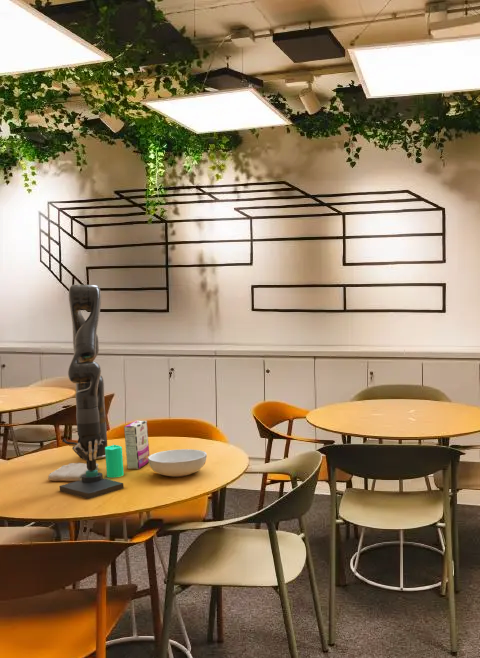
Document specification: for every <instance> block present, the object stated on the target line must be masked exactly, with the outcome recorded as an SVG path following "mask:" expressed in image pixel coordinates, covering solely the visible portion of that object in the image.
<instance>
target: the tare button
mask: <svg viewBox="0 0 480 658" xmlns="http://www.w3.org/2000/svg"><path fill="white" fill-rule="evenodd" d="M98 470H99V469H98ZM98 470H94V471H89V470H88V471H86V477H94V476H98Z"/></svg>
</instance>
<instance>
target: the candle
mask: <svg viewBox="0 0 480 658" xmlns="http://www.w3.org/2000/svg"><path fill="white" fill-rule="evenodd" d="M105 456H106V457H105V467H106V468H105V469H106V470H105V471H106V477H107V478H109V479H111V478H112V479H113V478H120V477H123V476H124V475H125V473H124V471H125V470H124V458H123V457H124V456H123V447H122V446H121V445H117V444H111V445H108V446H107V447H105Z"/></svg>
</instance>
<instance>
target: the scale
mask: <svg viewBox="0 0 480 658" xmlns="http://www.w3.org/2000/svg"><path fill="white" fill-rule="evenodd" d="M81 478H82V480H79V481H71V482H69V483H65V484H62V485H59V488H58V489H59V492H61V493H64V494H69V495H72V496H76V497H79V498H83V499H87V500H91V499H94V498H97V497H100V496H102V495H103V496H104V495H107V494H110V493H113V492H116V491H120V490H123V489H124V488H125V487H124V482H120V481H115V480H111V479H107V478H104V477H103V472H98V476H94V477H86V474H83V475H82V476H81Z"/></svg>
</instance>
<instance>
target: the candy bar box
mask: <svg viewBox="0 0 480 658" xmlns="http://www.w3.org/2000/svg"><path fill="white" fill-rule="evenodd" d="M123 433H124V445H125V455H126V457H125V458H126V468H127V470H140V469H141V468H143V467H144V466H146V465H147V464H149V461H148V457H149V456H150V444H149V432H148V420H134V421H132V422H131V423H129V424H126V425H124V427H123Z"/></svg>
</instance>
